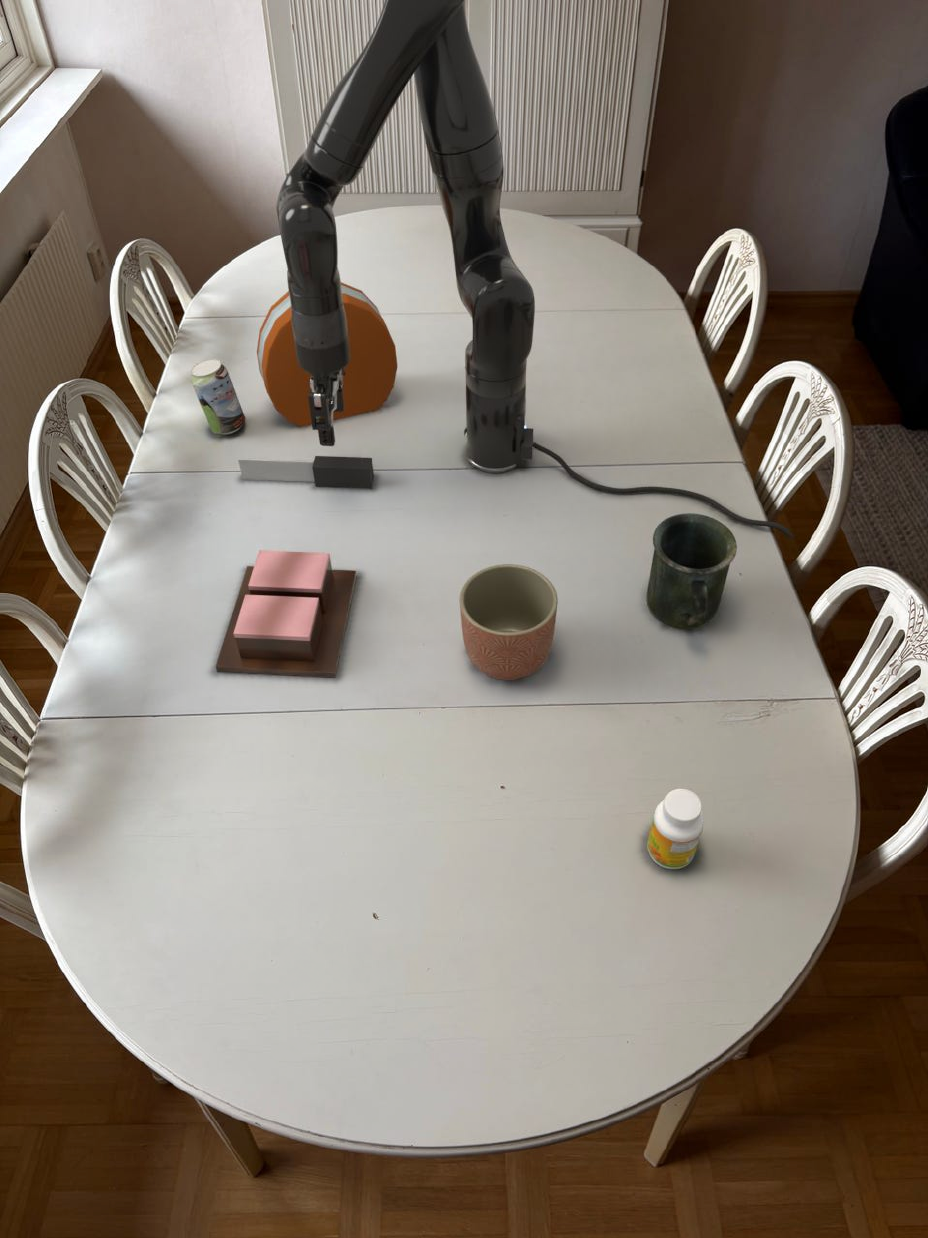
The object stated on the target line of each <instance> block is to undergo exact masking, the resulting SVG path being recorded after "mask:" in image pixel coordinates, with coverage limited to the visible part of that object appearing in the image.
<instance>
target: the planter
mask: <svg viewBox="0 0 928 1238" xmlns="http://www.w3.org/2000/svg"><path fill="white" fill-rule="evenodd" d="M557 593H558V592H557V590H556V588H555V586H554V584H553V583H552V582H551V581H550V580H549V578H548V577H546V576H545V575H544V574H543V573H541V572H539V571H538V570H536V569H534V568H531V567H529V566H525V565H522V564H521V565H520V564H512V563H503V564H502V563H501V564H495V565H492V566H488V567H485V568H482V569H480V570H479V571H477V572H475V573H474V574H472V575H471V576H470V577H469V579H467V580H466V581H465V583H464V584H463V586H462V588H461V591H460V594H459V609H460V610H459V611H460V621H461V623H460V624H461V632H462V639H463V645H464V649H465V653H466V654H467V657H468V659H469V661H470V662H471V664H472V665H473V666H474V667H475V668H476V669H477V671H480V672H481V673H483V674H484V675H485V676H486V675H487V676H488V677H491V678H494V679H497V680H506V681H509V680H519V679H523V678H525V677H528V676H530V675H532V674H533V673H535V672H536V671H538V670H539V669H540V668H541V667H542V666H543V665H544V664H545V662H546V660H547V659H548V657H549V654H550V652H551V649H552V644H553V640H554V635H555V628H556V619H557V613H558V612H557V611H558V604H559V599H558V594H557Z"/></svg>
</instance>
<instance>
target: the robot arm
mask: <svg viewBox="0 0 928 1238" xmlns="http://www.w3.org/2000/svg"><path fill="white" fill-rule="evenodd" d="M412 77H413V78H414V86H415V93H416V98H417V104H418V111H419V116H420V119H421V120H420V121H421V127H422V132H423V137H424V142H425V147H426V151H427V156H428V160H429V165H430V168H431V172H432V175H433V179H434V182H435V186H436V190H437V193H438V197H439V200H440V204H441V207H442V210H443V214H444V216H445V219H446V222H447V225H448V229H449V233H450V238H451V245H452V254H453V262H454V271H455V281H456V287H457V288H456V289H457V292H458V296H459V299H460V301H461V303H462V305H463V306H464V308H465V310H466V311H467V312H468V314H469V316H470V317H471V320H472V339H471V340H470V341H469V342H468V343H467V345H466V347H465V351H464V370H465V372H464V373H465V377H464V378H465V412H466V413H465V418H466V419H465V420H466V421H465V423H466V426H465V428H464V430H463V435H464V437H465V436H466V450H465V451H466V459H467V461H468V462H469V464H470V465H471V466H472V467H474V468H475V469H477V470H478V471H481V472H486V473H490V474H491V473H492V474H499V473H506V472H509V471H511V470H512V471H513V470H515V469H516V468H524V460H525V461H527V460H529V461H531V460H532V461H533V451H534V450H533V449H535V450H537V451H540V452H541V453H543V454H546V455H547V456H549V457H551V458H552V459H554V460H555V461H557V463H558V464H559V465H560V466H561V467H562V468H563V470H564V471H565V472H566V473H567V474H568V475H570V476H571V477H572V478H574V479H575V480H576V481H578V482H580V483H582V484H584V485H585V486H587V487H590V488H592V489H594V490H598V491H601V492H605V493H610V494H611V493H612V494H619V495H622V494H623V495H625V494H637V493H638V494H639V493H665V494H673V495H680V496H686V497H690V498H693V499H696V500H699V501H702V502H705V503H707V504H709V505H711V506H713V507H714V508H716V509H718V510H719V511H720V512H721V513H723V514H724V515H726V516H727V517H729V518H731V519H733V520H734V521H737V522H739V523H741V524H744V525H750V526H754V527H755V526H756V527H765V528H771V529H775V530H778V531H779V532H781V533H783V535H784V536H785V537H787V538H789V539H792V538H794V535H793V533H792V532H791V530H790V529H788V528H787V527H786V526H784V525H782V524H780V523H778V522H775V521H770V520H769V521H768V520H758V519H751V518H746V517H744V516H741V515H739V514H737V513H734V512H733V511H731V510H730V509H729V508H727V507H726V506H724V505H723V504H721V503H719V502H718V501H716V500H714V499H713V498H711V497H708V496H706V495H704V494H701V493H697V492H695V491H690V490H686V489H680V488H674V487H665V486H664V487H663V486H639V487H638V486H637V487H627V488H625V487H623V488H622V487H621V488H620V487H611V486H606V485H602V484H599V483H596V482H593V481H591V480H589V479H587V478H585V477H583V476H581V475H580V474H578V473H577V472H576V471H574V470H573V469H572V468H571V467H570V466H569V465H568V464H567V462H566V461H565V460H564V459H563V457H561V456H560V455H559V454H557V453H556V452H554V451H553V450H551V449H549V448H547V447H545V446H543V445H541V444H539V443H537V442H536V441H534V428H530V427H529V428H527V425H526V412H527V411H526V410H527V409H526V407H527V399H526V398H527V395H526V394H527V365H528V357H529V356H530V354H531V351H532V347H533V340H534V327H535V314H536V300H535V293H534V289H533V287H532V284H531V283H530V282H529V280H528V279H527V278H526V276H525V275H524V274H523V273H522V271H521V270H520V269H519V267H518V266H517V264H516V263H515V261H514V259H513V257H512V255H511V253H510V249H509V246H508V244H507V240H506V236H505V232H504V229H503V224H502V219H501V198H502V193H503V185H504V176H505V175H504V174H505V169H504V168H505V166H504V156H503V149H502V143H501V138H500V132H499V126H498V125H499V124H498V120H497V117H496V112H495V109H494V105H493V102H492V98H491V95H490V92H489V88H488V85H487V83H486V81H485V77H484V74H483V71H482V68H481V66H480V63H479V60H478V58H477V54H476V52H475V50H474V46H473V43H472V40H471V36H470V31H469V27H468V21H467V15H466V7H465V0H384V3H383V5H382V8H381V12H380V14H379V18H378V20H377V23H376V24H375V27H374V29H373V31H372V33H371V35H370V37H369V39H368V40H367V42H366V44H365V45H364V48H363V50H362V51H361V52H360V54H359V55H358V57H357V58H356V60H354V62H353V63H352V65H351V66H350V67H349V69H347V71H346V72H345V74H344V75H343V76H342V77H341V79H340V80H339V82H338V83H337V84H336V86H335V88H334V89H333V90H332V92H331V94H330V95H329V98H328V100H327V102H326V103H325V105H324V108H323V110H322V112H321V114H320V116H319V118H318V120H317V122H316V124H315V126H314V128H313V131H312V133H311V135H310V138H309V141H308V142H307V145H306V148H305V149H304V151H303V152H302V153H301V154H300V156H299V157H298V158H297V160H296V162H295V163H294V165H293V166H292V167H291V169H290V170H289V172H288V174H287V175H286V177H285V179H284V181H283V183H282V184H281V186H280V190H279V192H278V195H277V199H276V214H277V220H278V229H279V234H280V239H281V244H282V249H283V254H284V259H285V263H286V267H287V271H286V278H287V279H286V281H287V288H288V291H289V296H290V303H291V321H292V328H293V335H294V342H295V349H296V355H297V362H298V364H299V366H300V367H301V368H302V369H303V370H305V371H307V372H308V373H310V374H311V375H313V377H311V378H310V387H311V389H312V392H309V395H308V398H309V405H310V413H311V421H312V424H311V429H312V430H313V431H317V435H318V440H319V444H320V446H322V447H334V446H335V444H336V436H335V435H336V434H335V428H334V427H335V426H334V424H335V421H334V420H333V412H342V411H343V410H344V400H343V391H342V389H341V388H343V386H344V383H343V378H344V377H345V370H344V367H346V366H347V364H348V363H349V361H350V348H349V339H348V329H347V320H346V313H345V309H344V305H343V300H342V290H341V282H342V281H341V276H340V275H341V274H340V270H339V267H338V263H339V256H338V255H339V253H338V252H339V251H338V250H339V249H338V232H337V223H336V218H335V214H334V210H333V209H334V206H335V203H336V202H337V199H338V197H339V195H340V194H341V192H342V190H343V188H344V187H345V186H349V185H351V184H353V183H354V182H355V181H356V180H357V179H358V177H359V175H360V174H361V172H362V170H363V169H364V166H365V165H366V162H367V161H368V159H369V157H370V154H371V153H372V151H373V148H374V146H375V144H376V142H377V140H378V139H379V136H380V134H381V132H382V130H383V129H384V127H385V124H386V123H387V120H388V118H389V116H390V115H391V113H392V111H393V109H394V107H395V106H396V104H397V102H398V101H399V98H400V97H401V95H402V93H403V91H404V90H405V88H406V87H407V85H408V83H409V82H410V80H411V78H412ZM328 402H329V404H328ZM320 417H324V418H320Z"/></svg>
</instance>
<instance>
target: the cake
mask: <svg viewBox="0 0 928 1238" xmlns="http://www.w3.org/2000/svg"><path fill="white" fill-rule="evenodd" d="M330 554H331V553H329V552H314V551H313V552H311V551H286V550H285V551H284V550H263V549H261V550H258V552H257V556H256V559H255V562H254V565H253V566H252V565H246V568H245V572H244V574H243V579H242V580H241V581H242V582H241V584H240V588H239V591H238V594H237V598H236V600H235V604H234V607H233V610H232V613H231V616H230V620H229V623H228V626H227V630H226V632H225V636H224V638H223V641H222V645H221V648H220V651H219V654H218V657H217V661H216V664H215V669H216V672H220V673H237V674H256V675H257V674H259V675H281V676H299V677H300V676H301V677H321V678H322V677H323V678H336V676H337V671H338V666H339V661H340V658H341V657H340V656H341V652H342V648H343V643H344V638H345V633H346V628H347V623H348V619H349V615H350V609H351V606H352V605H351V604H352V600H353V595H354V590H355V585H356V580H357V576H358V575H357V574H358V573H357V570H352V569H351V570H348V569H333V567H332V561H331V555H330Z"/></svg>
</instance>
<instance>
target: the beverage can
mask: <svg viewBox="0 0 928 1238" xmlns="http://www.w3.org/2000/svg"><path fill="white" fill-rule="evenodd" d="M190 382H191V384H192V387H193V389H194V391H195V395H196V397H197V399H198V401H199V404H200V406H201V409H202V411H203V414H204V417H205V419H206V421H207V424H208V426H209V428H210V430H211V431H212V432H213V433H214V434H218V435H222V436H223V435H230V434H233V433H235V432H237V431H239V430H240V429H241V428H242V426H243V425H244V424H245V422H246V417H245V413H244V411H243V408H242V406H241V403H240V401H239V397H238V395H237V392H236V389H235V387H234V384H233V382H232V379H231V376H230V373H229V370H228V369H227V367H226V366H225V365H224V364H222V363H221V361H220V360H219V359H213V358H212V359H205V360H203V361H200V362H197V364H195V365H194V366H193V367H192V368H191V375H190Z"/></svg>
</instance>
